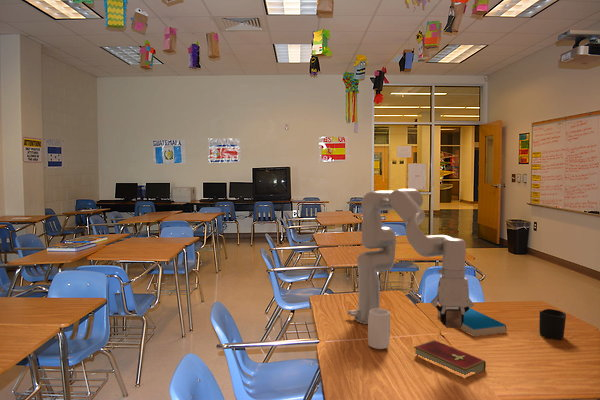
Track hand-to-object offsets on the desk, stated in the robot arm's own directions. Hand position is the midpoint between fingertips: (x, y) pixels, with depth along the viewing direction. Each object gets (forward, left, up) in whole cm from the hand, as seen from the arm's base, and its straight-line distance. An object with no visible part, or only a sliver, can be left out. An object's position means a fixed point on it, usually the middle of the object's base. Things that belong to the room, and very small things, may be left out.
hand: (451, 323), depth 147 cm
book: (+20, +39, -15) cm, 47 cm away
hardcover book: (-1, 0, -15) cm, 15 cm away
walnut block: (0, 0, -1) cm, 1 cm away
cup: (-24, +10, -14) cm, 30 cm away
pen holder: (+50, +29, -14) cm, 60 cm away
